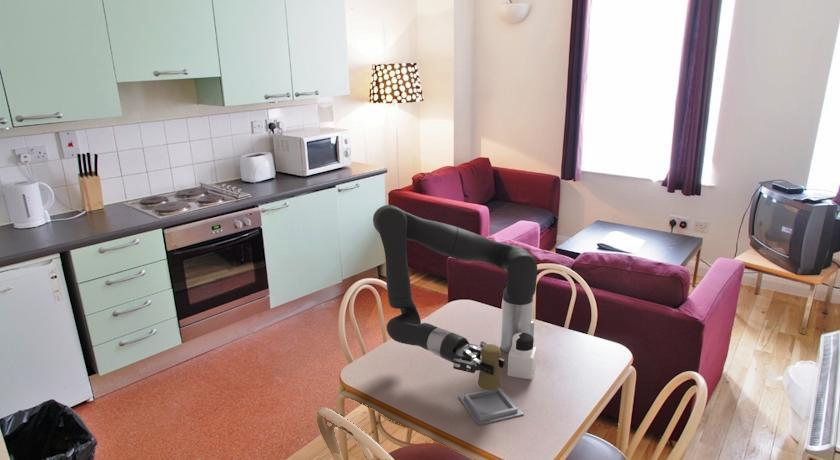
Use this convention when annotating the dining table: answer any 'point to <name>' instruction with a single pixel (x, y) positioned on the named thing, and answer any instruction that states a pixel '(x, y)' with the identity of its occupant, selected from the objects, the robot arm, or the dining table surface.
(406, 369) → the dining table surface
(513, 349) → the medicine bottle
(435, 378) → the dining table surface
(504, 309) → the robot arm
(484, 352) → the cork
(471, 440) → the dining table surface
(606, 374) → the dining table surface
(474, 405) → the grey flat square tray
